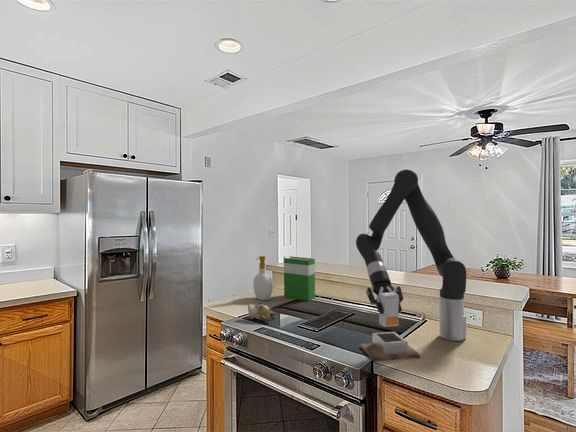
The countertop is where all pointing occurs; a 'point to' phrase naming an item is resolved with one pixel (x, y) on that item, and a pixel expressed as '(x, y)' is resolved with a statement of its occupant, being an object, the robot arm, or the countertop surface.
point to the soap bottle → (262, 282)
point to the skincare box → (389, 309)
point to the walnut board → (377, 356)
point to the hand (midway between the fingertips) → (390, 312)
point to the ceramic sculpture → (261, 312)
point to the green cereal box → (299, 278)
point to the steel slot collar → (389, 343)
